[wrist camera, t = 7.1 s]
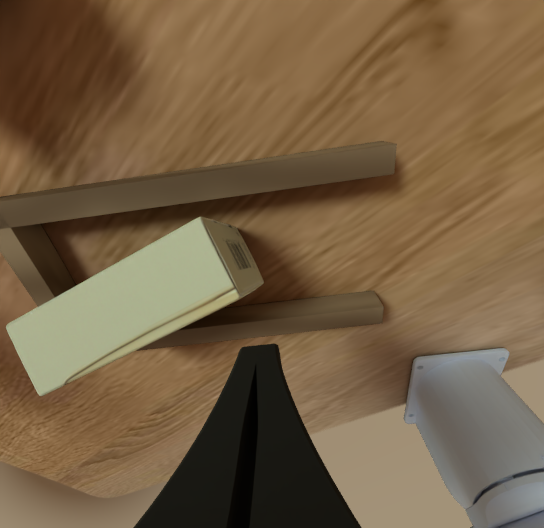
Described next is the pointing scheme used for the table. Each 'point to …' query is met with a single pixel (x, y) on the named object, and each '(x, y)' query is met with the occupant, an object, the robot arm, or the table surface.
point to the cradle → (185, 189)
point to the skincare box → (135, 303)
